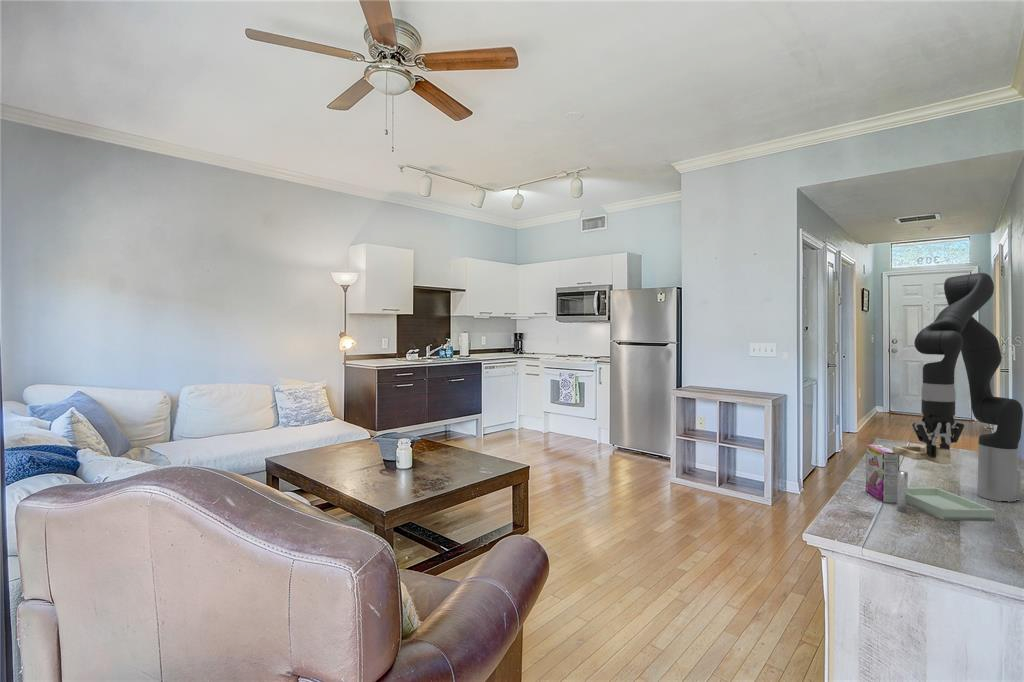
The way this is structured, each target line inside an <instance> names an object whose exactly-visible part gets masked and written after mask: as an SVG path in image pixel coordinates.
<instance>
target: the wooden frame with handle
mask: <svg viewBox="0 0 1024 682" xmlns="http://www.w3.org/2000/svg"><path fill="white" fill-rule="evenodd" d="M892 450H893V453H895V454H899V456H903V457H905V458H909V459H912V460H915V461H921V460H923V461H924V460H926V461H929V462H932V463H935V464H939V465H951V464H952V463H951V462H952V461H951V449H950V450H948V449H944V448H941V447H940V446H938V445H936V457H935V458H932V457H929V456H928V455H927V453H926V450H927V449H926V446H923V445H898V446H897V445H894V446H893V445H892Z"/></svg>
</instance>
